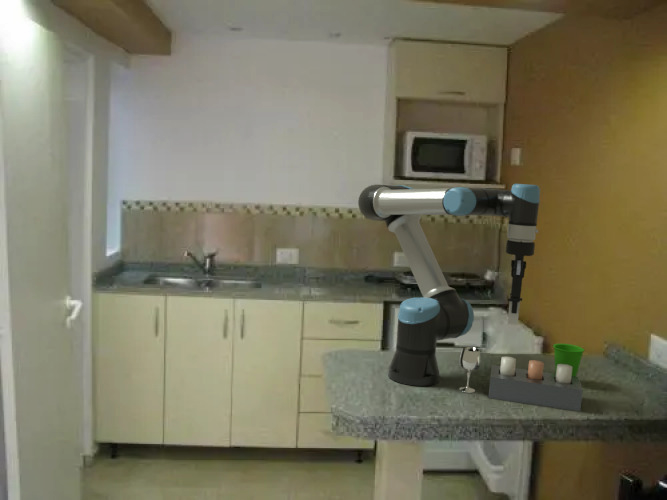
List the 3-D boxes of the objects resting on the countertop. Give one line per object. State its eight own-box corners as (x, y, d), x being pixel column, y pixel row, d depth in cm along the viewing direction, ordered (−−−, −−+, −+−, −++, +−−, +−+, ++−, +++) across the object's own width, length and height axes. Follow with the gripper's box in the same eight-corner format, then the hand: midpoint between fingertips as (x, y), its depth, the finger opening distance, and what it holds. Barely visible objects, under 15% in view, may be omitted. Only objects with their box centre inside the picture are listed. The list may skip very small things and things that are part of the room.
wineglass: (465, 394, 181) (469, 352, 180) (452, 387, 186) (456, 347, 185) (481, 392, 184) (485, 351, 182) (468, 385, 189) (472, 345, 187)
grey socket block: (488, 397, 180) (490, 376, 179) (489, 384, 191) (491, 364, 190) (580, 411, 174) (582, 389, 173) (575, 397, 185) (578, 376, 184)
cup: (582, 389, 193) (587, 353, 191) (551, 385, 195) (555, 349, 193) (577, 379, 202) (581, 345, 200) (547, 376, 203) (551, 342, 202)
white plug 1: (498, 383, 182) (501, 359, 182) (499, 379, 186) (501, 355, 185) (513, 385, 181) (516, 361, 181) (513, 381, 185) (516, 357, 184)
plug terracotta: (526, 387, 181) (529, 363, 180) (526, 383, 184) (528, 359, 184) (541, 389, 180) (544, 365, 179) (541, 385, 183) (543, 361, 183)
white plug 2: (554, 391, 179) (557, 367, 178) (554, 387, 183) (556, 363, 182) (570, 393, 178) (573, 369, 177) (568, 389, 182) (571, 365, 181)
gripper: (536, 243, 172) (527, 330, 174) (534, 239, 184) (525, 320, 187) (506, 241, 173) (498, 327, 176) (507, 237, 186) (499, 317, 189)
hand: (512, 323), depth 182 cm, fingers closed
